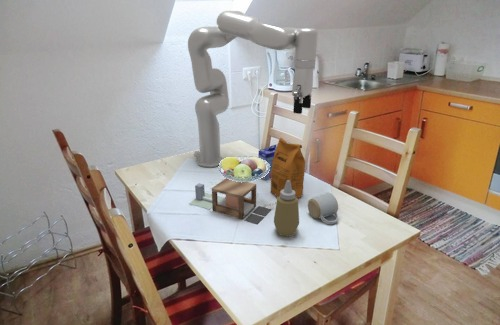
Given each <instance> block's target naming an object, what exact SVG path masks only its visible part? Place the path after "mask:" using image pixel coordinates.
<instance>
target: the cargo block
mask: <svg viewBox="0 0 500 325" xmlns="http://www.w3.org/2000/svg"><path fill="white" fill-rule="evenodd" d="M225 197H226V206H228V207H232V208H235V209H237V208H239V207H238V198H237V197H234V196H230V195H226V194H225Z"/></svg>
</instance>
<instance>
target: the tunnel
mask: <svg viewBox="0 0 500 325" xmlns="http://www.w3.org/2000/svg"><path fill="white" fill-rule="evenodd" d="M218 193H219V194H223V195H225V196H226V195H230V196H234V197H237V198H238V207H239V210H236V209H233V208H229V207H226V206H222V205H218V200H217V196H218ZM249 193H250V195H251V196H250V197H251V198H250V197H246V196H248V194H249ZM211 194H212V206H213V207H212V212H215V213H218V214H222V215H225V216H229V217H232V218H236V219H239V220H244V218H245V216H244V202H247V203H251V204H254V208H255V209H256V208H257V183H254V182H251V181H250V182H249V181H246V182H242V183H241V182H236V181H232V180H229V179H227V177H226V178H224V179H222V181H220V182H218V183H217V184H215V185H214V186H213V187H211ZM254 208H253V209H254Z"/></svg>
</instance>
